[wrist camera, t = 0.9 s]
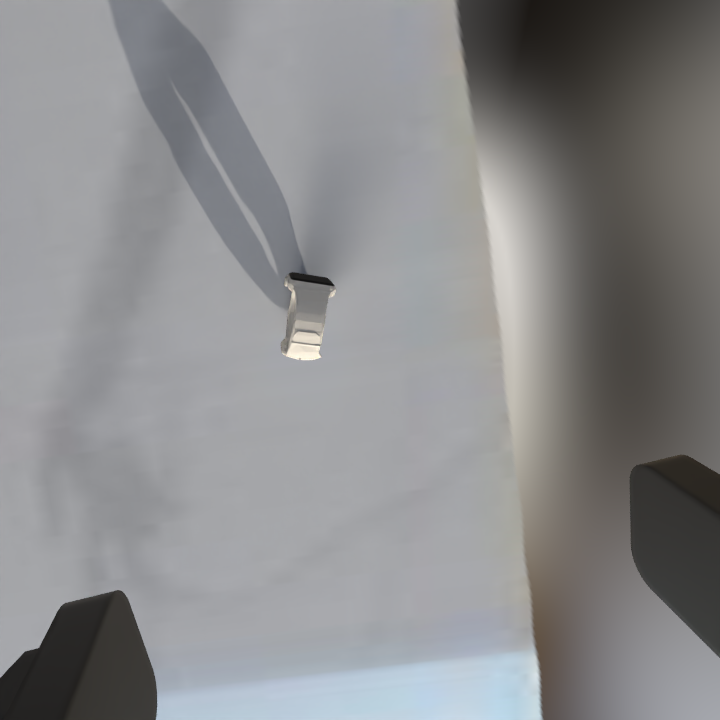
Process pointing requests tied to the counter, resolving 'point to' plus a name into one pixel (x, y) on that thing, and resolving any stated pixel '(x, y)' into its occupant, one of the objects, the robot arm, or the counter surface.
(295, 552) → the counter surface
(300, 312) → the smartwatch
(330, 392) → the counter surface
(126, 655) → the robot arm
